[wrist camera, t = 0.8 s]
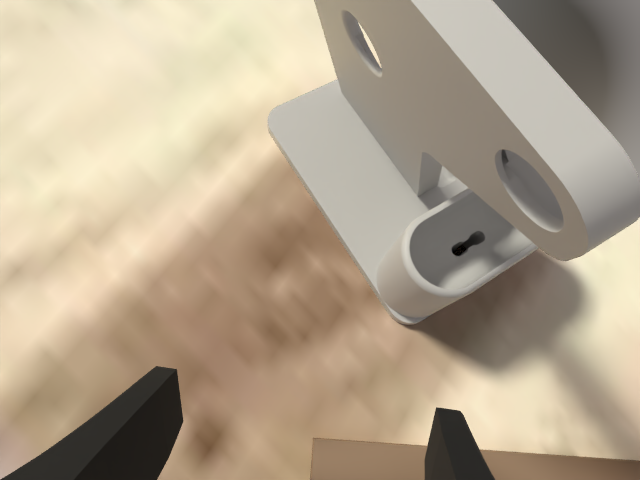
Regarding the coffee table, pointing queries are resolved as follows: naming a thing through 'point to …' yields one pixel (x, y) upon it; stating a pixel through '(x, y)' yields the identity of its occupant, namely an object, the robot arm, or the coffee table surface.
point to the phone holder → (449, 151)
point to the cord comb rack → (506, 467)
